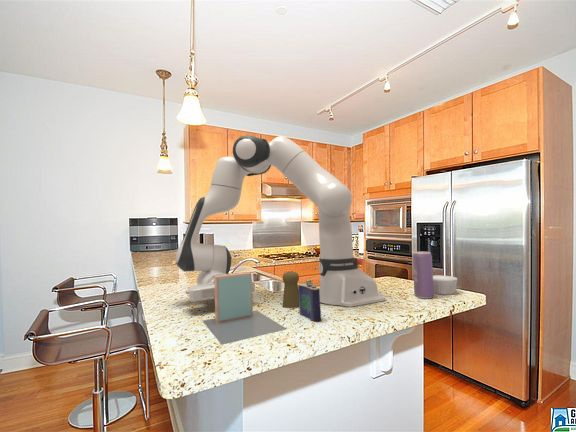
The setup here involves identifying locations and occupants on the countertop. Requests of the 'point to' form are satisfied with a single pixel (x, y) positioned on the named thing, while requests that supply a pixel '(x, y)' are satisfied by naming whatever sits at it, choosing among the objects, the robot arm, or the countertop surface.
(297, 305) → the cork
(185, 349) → the countertop surface
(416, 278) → the beverage can
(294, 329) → the countertop surface
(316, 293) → the flask
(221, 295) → the tile
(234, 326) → the slate board
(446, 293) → the ramekin
